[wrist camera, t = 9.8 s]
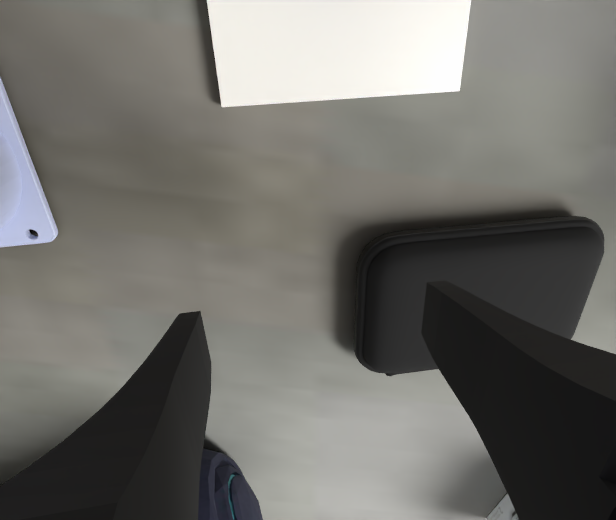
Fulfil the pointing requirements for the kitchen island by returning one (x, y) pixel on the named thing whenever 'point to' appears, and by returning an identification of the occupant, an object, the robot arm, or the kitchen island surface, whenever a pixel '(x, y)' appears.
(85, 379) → the kitchen island surface
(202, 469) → the portable speaker
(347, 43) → the mat
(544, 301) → the carrying case or bag
